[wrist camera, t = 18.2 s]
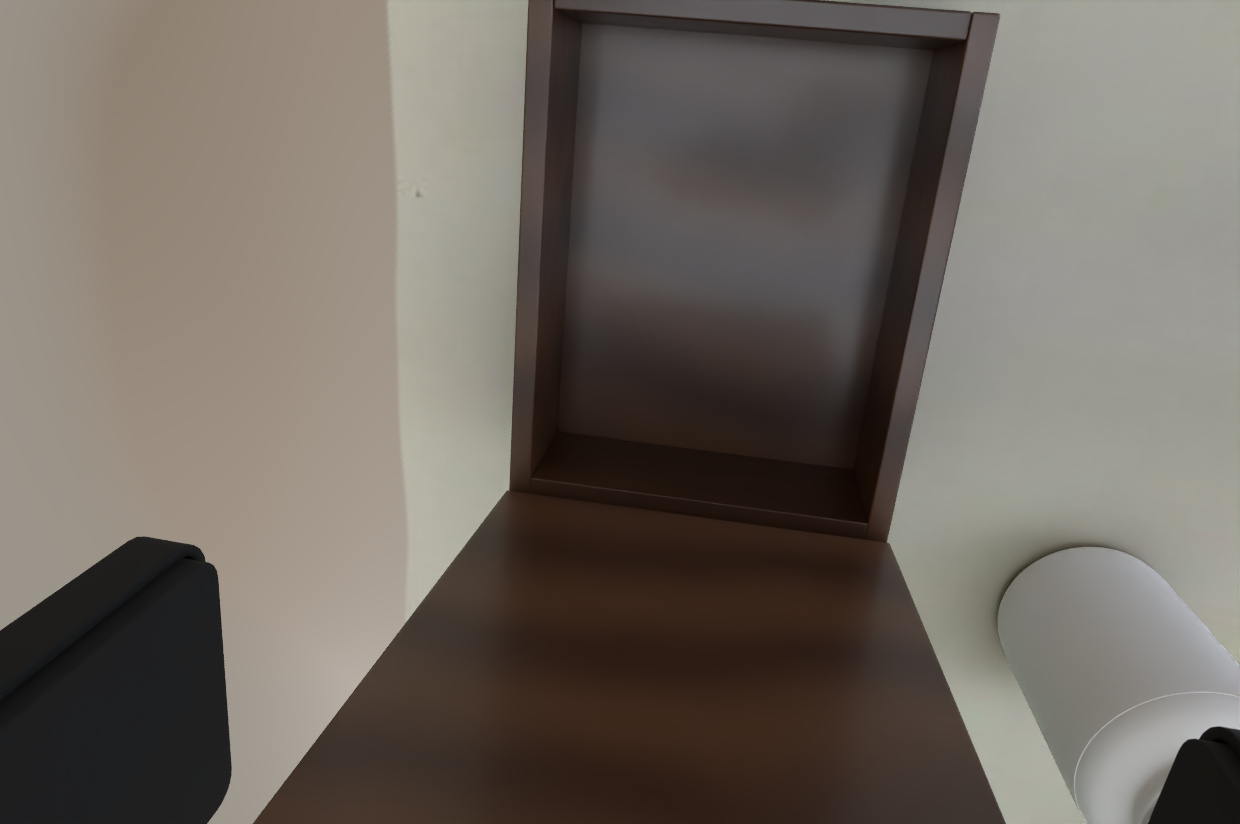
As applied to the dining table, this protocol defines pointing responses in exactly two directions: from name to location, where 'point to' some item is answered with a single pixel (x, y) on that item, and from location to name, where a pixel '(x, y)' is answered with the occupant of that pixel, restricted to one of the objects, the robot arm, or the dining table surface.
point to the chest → (736, 250)
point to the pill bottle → (1114, 675)
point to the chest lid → (649, 685)
